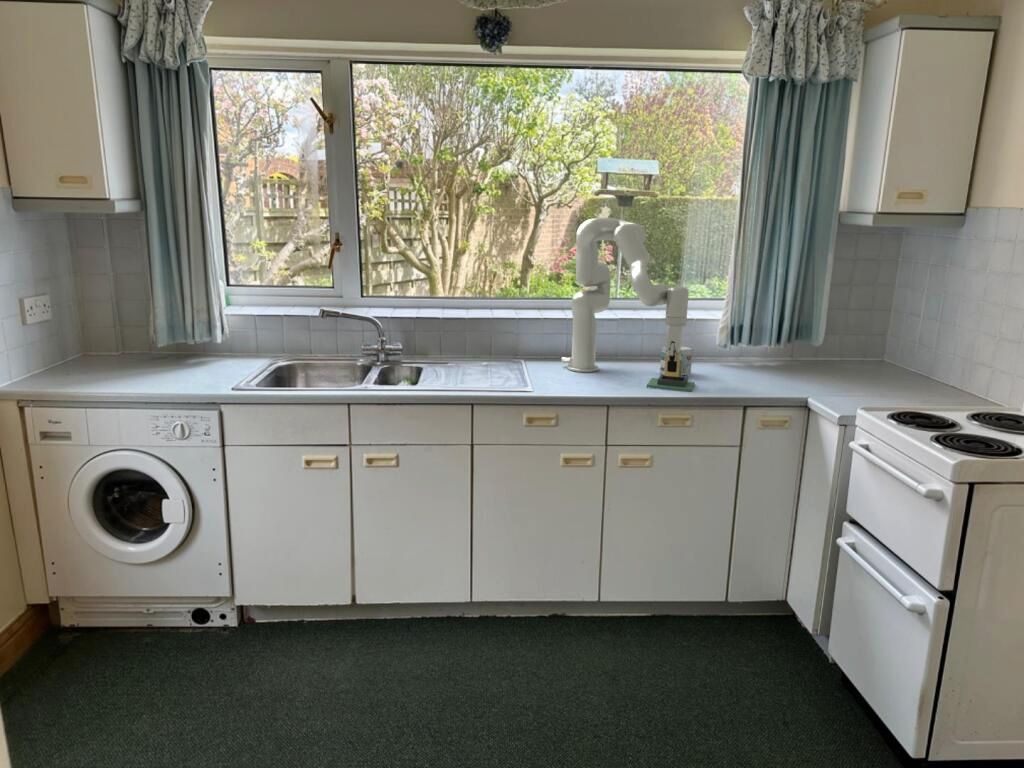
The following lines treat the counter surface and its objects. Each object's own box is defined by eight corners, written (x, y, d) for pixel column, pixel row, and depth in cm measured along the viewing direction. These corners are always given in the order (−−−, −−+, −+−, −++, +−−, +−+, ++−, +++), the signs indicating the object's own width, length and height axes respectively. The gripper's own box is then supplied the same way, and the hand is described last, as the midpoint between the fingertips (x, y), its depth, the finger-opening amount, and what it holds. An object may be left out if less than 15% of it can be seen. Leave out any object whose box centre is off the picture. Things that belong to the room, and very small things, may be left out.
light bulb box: (668, 377, 283) (670, 350, 280) (658, 373, 289) (660, 346, 286) (691, 375, 287) (693, 348, 284) (681, 371, 293) (683, 345, 290)
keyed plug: (664, 375, 267) (665, 354, 265) (665, 373, 271) (667, 352, 269) (681, 377, 265) (682, 355, 263) (682, 374, 269) (683, 353, 267)
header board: (646, 387, 266) (647, 379, 266) (651, 380, 277) (652, 372, 277) (691, 392, 261) (691, 383, 260) (694, 384, 272) (695, 376, 271)
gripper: (668, 317, 272) (665, 365, 277) (662, 323, 257) (658, 374, 261) (689, 318, 270) (685, 366, 274) (683, 325, 254) (680, 376, 259)
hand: (672, 369), depth 268 cm, fingers closed on keyed plug, 4 cm apart
